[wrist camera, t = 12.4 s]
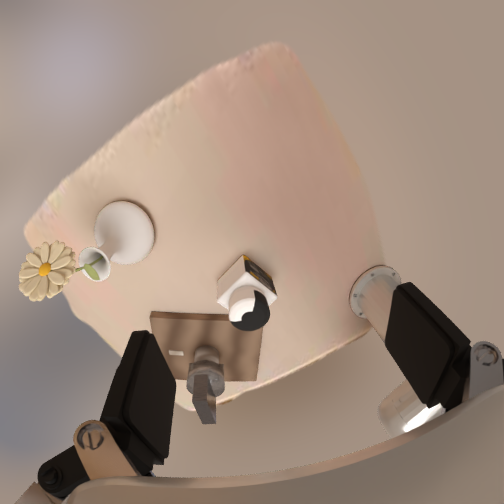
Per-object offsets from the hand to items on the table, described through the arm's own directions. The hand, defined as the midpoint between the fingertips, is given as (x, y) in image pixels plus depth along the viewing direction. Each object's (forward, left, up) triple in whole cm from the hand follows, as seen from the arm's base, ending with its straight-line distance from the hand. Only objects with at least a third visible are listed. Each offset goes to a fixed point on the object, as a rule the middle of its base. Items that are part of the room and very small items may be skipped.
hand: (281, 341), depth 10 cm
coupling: (+5, +35, -29) cm, 46 cm away
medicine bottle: (-2, +17, -36) cm, 40 cm away
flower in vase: (+20, +8, -36) cm, 42 cm away
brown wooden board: (+5, +34, -36) cm, 50 cm away
